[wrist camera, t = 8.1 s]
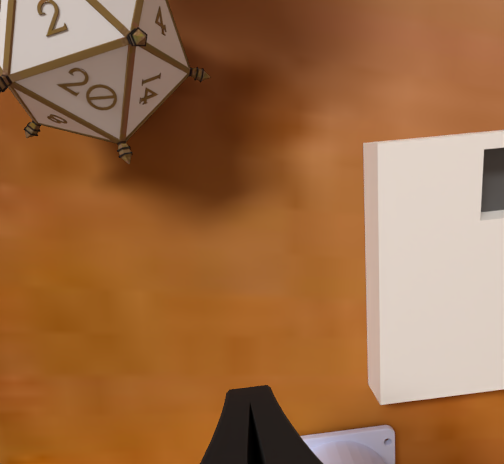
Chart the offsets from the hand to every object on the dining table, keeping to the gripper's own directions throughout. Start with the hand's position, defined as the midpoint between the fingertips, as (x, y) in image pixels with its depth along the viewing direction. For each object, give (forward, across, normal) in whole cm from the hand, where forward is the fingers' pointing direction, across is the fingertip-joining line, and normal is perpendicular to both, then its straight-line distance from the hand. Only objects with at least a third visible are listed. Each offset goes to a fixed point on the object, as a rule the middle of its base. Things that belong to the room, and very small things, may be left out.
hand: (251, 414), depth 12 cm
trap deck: (+10, -17, 0) cm, 20 cm away
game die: (+11, +5, -13) cm, 17 cm away
